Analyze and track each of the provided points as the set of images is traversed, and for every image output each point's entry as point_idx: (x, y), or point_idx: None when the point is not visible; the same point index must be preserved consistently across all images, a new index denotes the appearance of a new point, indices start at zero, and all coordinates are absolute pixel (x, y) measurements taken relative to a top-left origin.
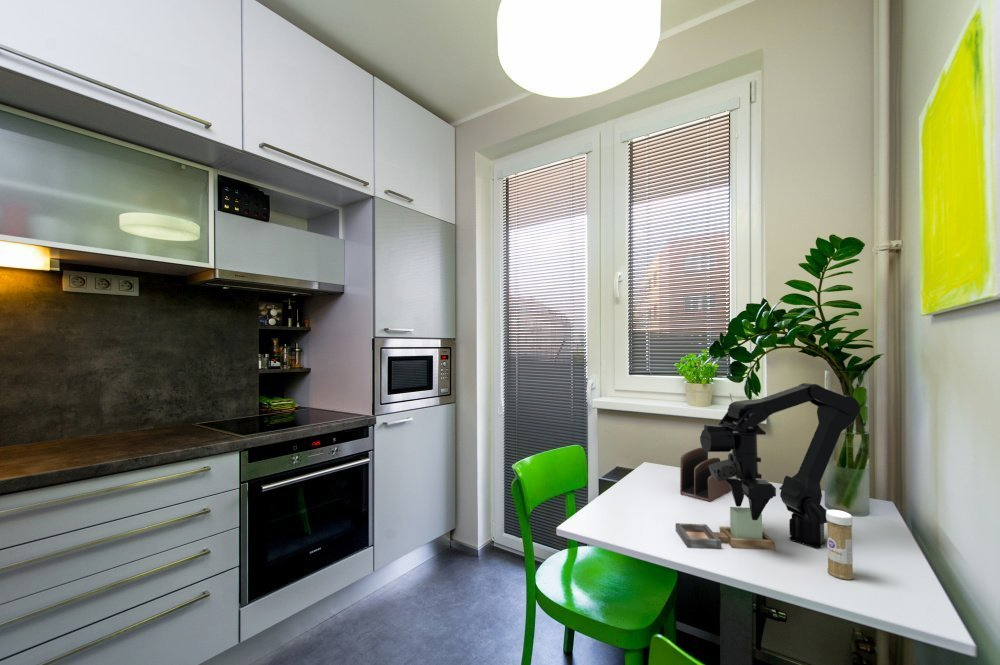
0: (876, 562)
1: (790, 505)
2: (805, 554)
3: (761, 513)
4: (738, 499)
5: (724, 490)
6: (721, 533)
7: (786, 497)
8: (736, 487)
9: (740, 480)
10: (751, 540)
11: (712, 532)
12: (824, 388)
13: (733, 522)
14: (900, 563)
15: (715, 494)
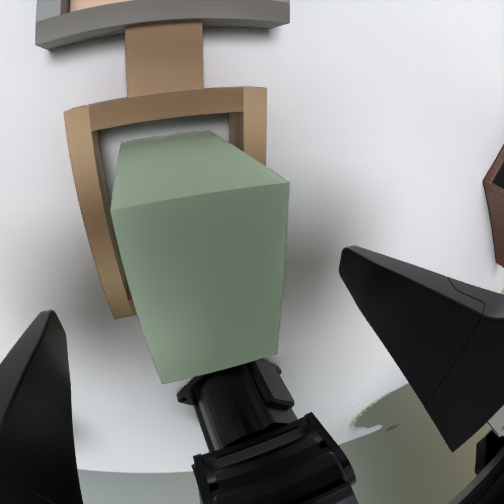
0: (142, 448)
1: (265, 464)
2: (119, 366)
3: (168, 382)
4: (375, 292)
5: (500, 240)
6: (185, 73)
7: (293, 482)
8: (457, 349)
9: (482, 416)
10: (86, 221)
11: (162, 14)
12: None
13: (182, 158)
14: (156, 463)
15: (497, 211)
